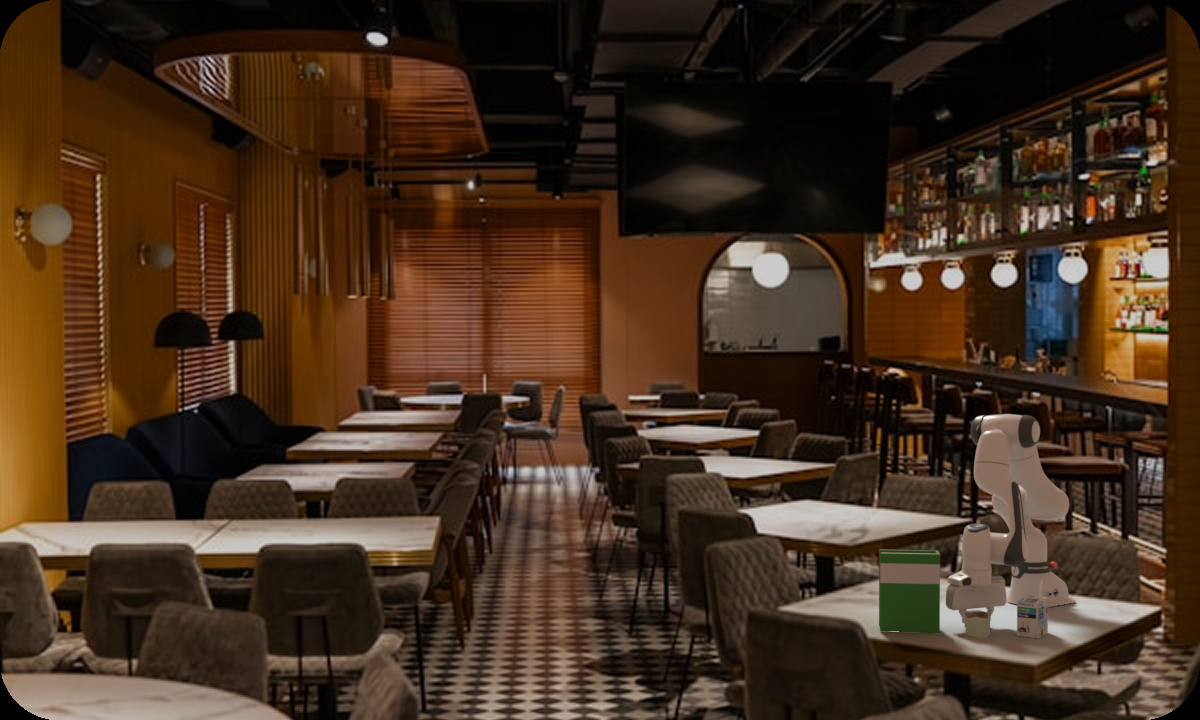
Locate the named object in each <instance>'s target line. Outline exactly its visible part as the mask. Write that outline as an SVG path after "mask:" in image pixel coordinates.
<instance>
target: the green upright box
mask: <svg viewBox="0 0 1200 720" xmlns="http://www.w3.org/2000/svg"><path fill="white" fill-rule="evenodd" d="M878 550H879V552H878V556H879V557H878V558H879V559H878V560H879V561H878V567H879V568H878V573H879V574H878V575H879V576H878V627H879V626H880V628H879V632H880V631H899V632H917V633H916V634H933V633H940V632H941V627H940V625H941V624H940V621H941V618H940V617H941V616H940V615H941V609H940V607H941V605H940V604H941V553H940V552H939V550H934V549H933V550H926V549H924V550H923V549H922V550H921V549H881V548H880V549H878ZM918 632H919V633H918Z"/></svg>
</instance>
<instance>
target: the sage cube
mask: <svg viewBox="0 0 1200 720" xmlns="http://www.w3.org/2000/svg"><path fill="white" fill-rule="evenodd" d="M967 635H968V636H969V637H972V636H973V638H977V637H978V638H977V639H981V637H982V638H986V637H985V636H987V637H991V621H990V619H985V618H980V617H973V618H968V619H966V627H965V636H967Z"/></svg>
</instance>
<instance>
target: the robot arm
mask: <svg viewBox="0 0 1200 720" xmlns="http://www.w3.org/2000/svg"><path fill="white" fill-rule="evenodd" d="M1040 435H1041V426H1040V423H1039V421H1038V419H1036V418H1035V417H1034V416H1032V415H1027V414H1023V415H1021V414H1013V413H1003V414H989V415H988V414H983V415H977V416H976V417H975V418H974V419H973V420H972V422H971V424H970V438H971V440H972V442H973V444H974V445H975V446H976V449H975V456H974V463H973V478H974V481H975V484H976V485H977V486H978V488H980V489H981V490H983V492H986V493H987V494H989V495H992V496H991V504H992V508H993V509H994V511H995V512H996V513H997V514H998V515H999V516H1000V517H1001V518H1002V519H1003V521H1005V523H1006V526H1007V527H1008V529H1009V532H1008V533H1004V532H1003V533H1002V532H991V530H990V526H989V525H988V524H985V523H971V524H968V525H966V526H965V527H964V530H963V534H962V535H963V536H962V543H961V544H962V545H961V555H962V560H963V561H962V563H961V564H962V565H961V570H960V571H957V572H955V573H954V574H951V575H949V576H948V577H947V584H948V586H947V587H946V591H945V606H946V607H947V609H949V610H952V611H958V613H959V615H960V616H961V617H960V618H961V623H962V624H964V625H965V624H966V619H968V617H967V616H966V614H965V613H966V612H967V611H968V610H971V609H972V610H974V609H982V608H986V612H987V613H988V619H990V622H991V621H992V615H993V614H994V611H995V607H1004V606H1006V604H1007V602H1008V603H1009V604H1010V603H1011V604H1013V605H1017V601H1018V600H1020V599H1022V598H1023V597H1025V596H1027V595H1028V596H1036V597H1045V598H1048V608H1050V607H1051V608H1053V607H1057V606H1058V605H1059V606H1063V605H1064V604H1065V605H1069V604H1070V603H1071V604H1076V603H1075V602H1076V598H1073V597H1071V596H1069V590H1068V586H1067V584H1066V582H1065V581H1064V580H1063V579H1061V578H1060V577H1058V576H1057V575H1056V574H1055V573H1054V572H1053V571H1052V569H1056V568H1057V567H1058V563H1057V562H1055V561H1049V560H1048V540H1047V537H1046V535H1045V534H1044V533H1043V532H1041V531H1040V530H1039V529H1037V528H1036V527H1035V526H1034V524H1033V521H1032V520H1039V521H1057V520H1062V519H1063V518H1064V517H1065V516H1066V515H1067V513H1068V512H1069V509H1070V500H1069V497H1068V495H1067V493H1066V492H1065V491H1064V490H1062V489H1060V488H1059V487H1057V485H1055V484H1054V483H1053V482H1052V481H1051V480H1050V479H1049V478H1048V476H1047V475H1046V474H1045V472H1044V469H1043V467H1042V464H1041V459H1040V457H1039V452H1038V446H1037V444H1038V442H1039V440H1040V437H1041V436H1040ZM992 564H993V565H1003V566H1008V567H1010V571H1011V582H1010V587H1009V592H1008V597H1007V590H1006V580H1005V578H1004V577H1003V576H1001V575H995V576H994V575H992V570H993V569H992Z"/></svg>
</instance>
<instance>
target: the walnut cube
mask: <svg viewBox="0 0 1200 720" xmlns="http://www.w3.org/2000/svg"><path fill="white" fill-rule="evenodd" d="M965 614H966V616H967V617H968V618H973V617H980V618H985V619H988V613H987V611H983V610H981V609H975V610H974V609H972V610H971V609H970V610H967V612H966V613H965ZM964 628H966V624H964Z"/></svg>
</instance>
